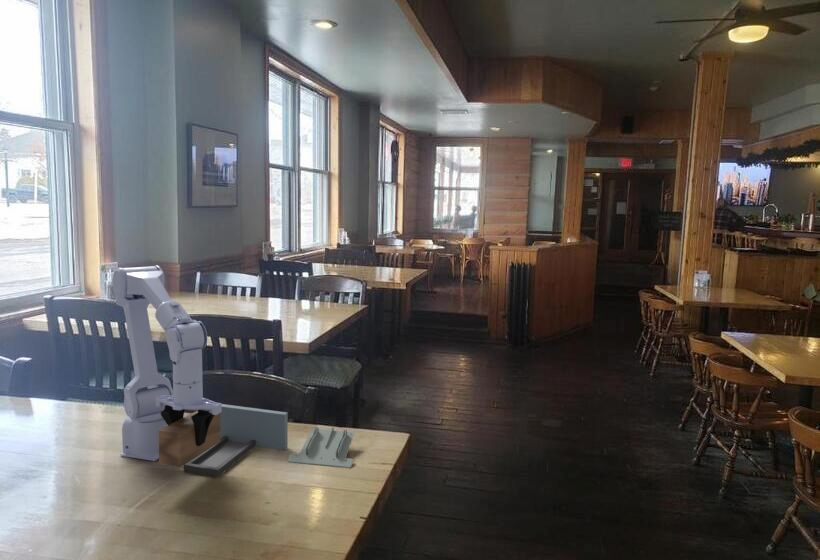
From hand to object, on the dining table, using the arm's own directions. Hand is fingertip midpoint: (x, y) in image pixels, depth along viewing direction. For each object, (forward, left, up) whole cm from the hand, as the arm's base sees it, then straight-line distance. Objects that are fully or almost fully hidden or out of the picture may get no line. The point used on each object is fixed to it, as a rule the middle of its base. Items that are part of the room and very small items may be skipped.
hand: (189, 442), depth 121 cm
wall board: (0, +12, -9) cm, 15 cm away
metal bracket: (+22, +21, -10) cm, 32 cm away
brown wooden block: (0, +1, -3) cm, 3 cm away
